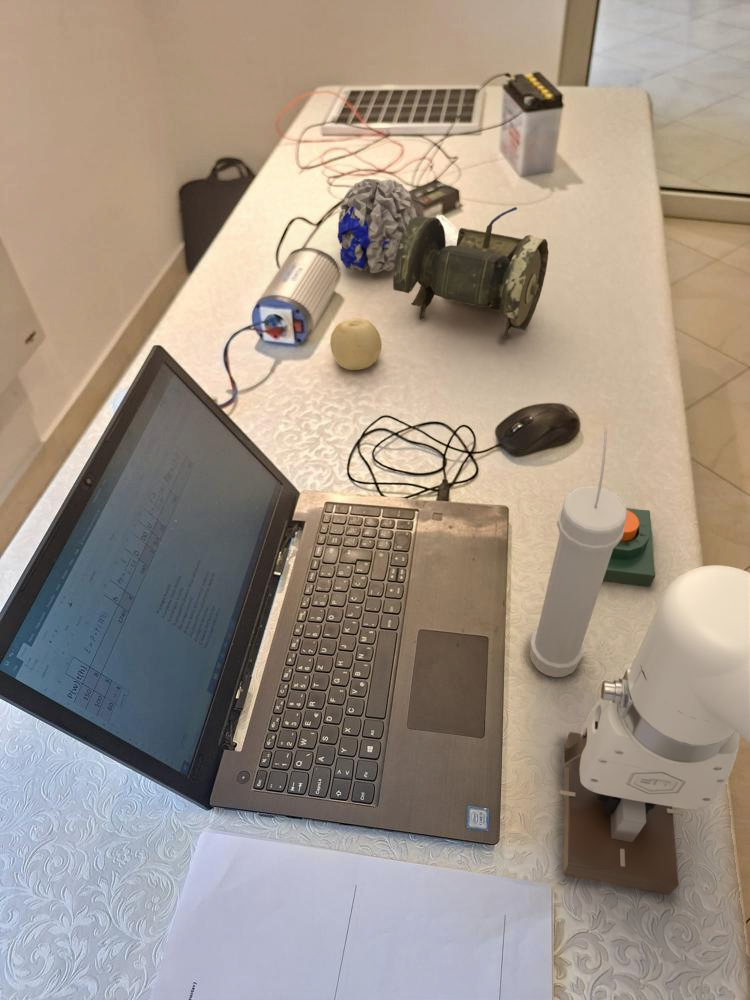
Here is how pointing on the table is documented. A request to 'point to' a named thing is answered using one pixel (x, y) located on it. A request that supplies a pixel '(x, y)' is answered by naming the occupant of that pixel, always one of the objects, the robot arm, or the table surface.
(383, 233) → the educational model
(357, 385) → the table surface
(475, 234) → the bench grinder
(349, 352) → the apple
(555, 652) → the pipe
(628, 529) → the button
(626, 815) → the rod knob
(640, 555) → the button box
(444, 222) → the bird figurine
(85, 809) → the table surface
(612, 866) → the panel
